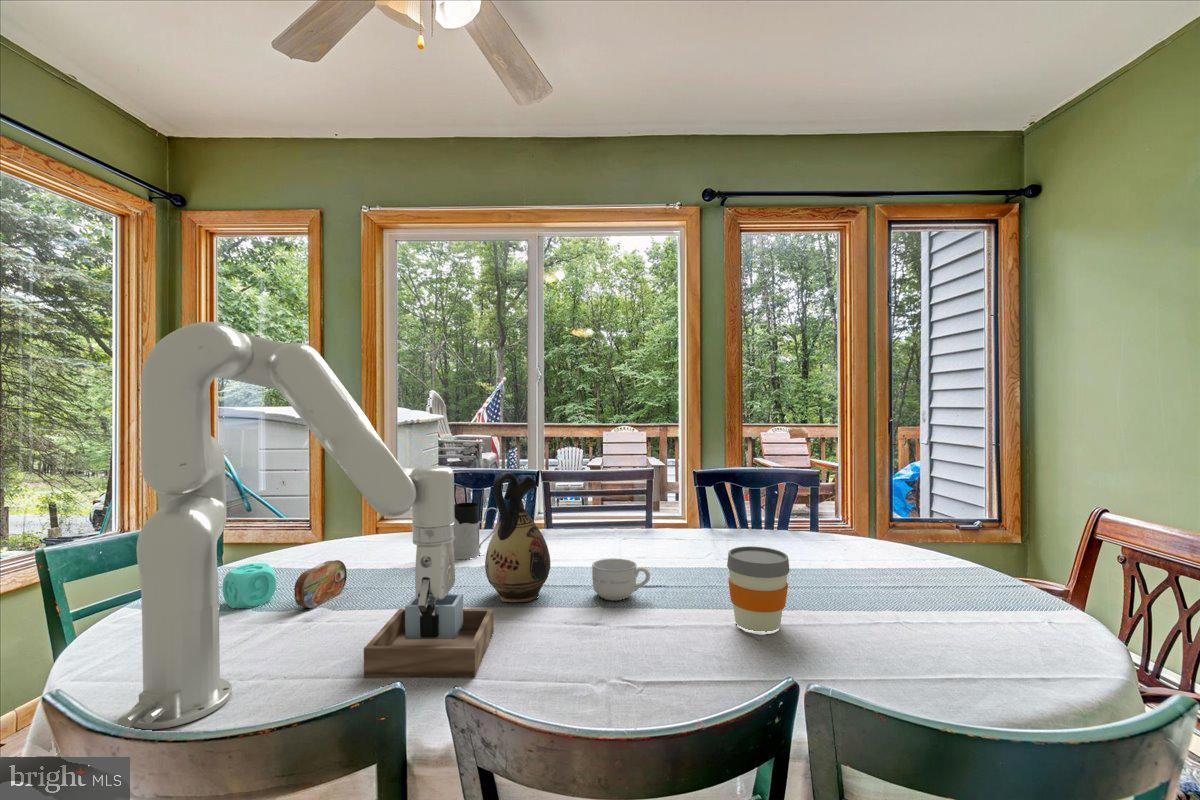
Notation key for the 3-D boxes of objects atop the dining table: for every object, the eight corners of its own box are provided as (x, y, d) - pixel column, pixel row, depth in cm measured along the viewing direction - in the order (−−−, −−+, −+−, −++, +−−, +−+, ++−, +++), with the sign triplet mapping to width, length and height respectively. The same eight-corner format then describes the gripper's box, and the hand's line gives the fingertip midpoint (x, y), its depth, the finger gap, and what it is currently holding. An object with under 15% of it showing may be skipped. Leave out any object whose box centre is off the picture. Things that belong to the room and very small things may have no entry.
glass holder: (450, 552, 167) (450, 503, 167) (497, 548, 171) (497, 500, 171) (451, 561, 159) (451, 509, 158) (501, 556, 163) (501, 506, 163)
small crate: (455, 639, 100) (454, 606, 100) (405, 639, 100) (405, 606, 100) (463, 624, 106) (462, 593, 106) (416, 625, 106) (415, 594, 106)
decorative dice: (258, 593, 133) (258, 560, 133) (277, 600, 129) (276, 566, 129) (222, 604, 126) (221, 570, 126) (240, 612, 122) (240, 576, 122)
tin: (303, 614, 121) (303, 576, 121) (291, 613, 122) (291, 575, 122) (348, 589, 136) (347, 555, 136) (336, 589, 136) (336, 555, 136)
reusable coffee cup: (746, 642, 108) (746, 566, 107) (716, 617, 120) (716, 548, 119) (802, 635, 111) (802, 561, 111) (767, 611, 123) (767, 544, 123)
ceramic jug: (519, 580, 142) (519, 464, 142) (563, 594, 133) (563, 470, 132) (465, 599, 129) (465, 472, 129) (509, 617, 120) (509, 479, 119)
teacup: (583, 599, 130) (583, 565, 129) (604, 585, 139) (604, 553, 139) (638, 610, 123) (638, 575, 123) (656, 594, 133) (656, 561, 132)
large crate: (474, 677, 94) (474, 648, 94) (363, 677, 94) (363, 648, 94) (493, 633, 111) (493, 608, 111) (399, 633, 111) (399, 608, 111)
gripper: (440, 546, 94) (442, 650, 94) (465, 521, 111) (466, 610, 112) (396, 546, 94) (398, 651, 94) (427, 521, 111) (429, 610, 112)
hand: (435, 627), depth 103 cm, fingers closed on small crate, 6 cm apart
